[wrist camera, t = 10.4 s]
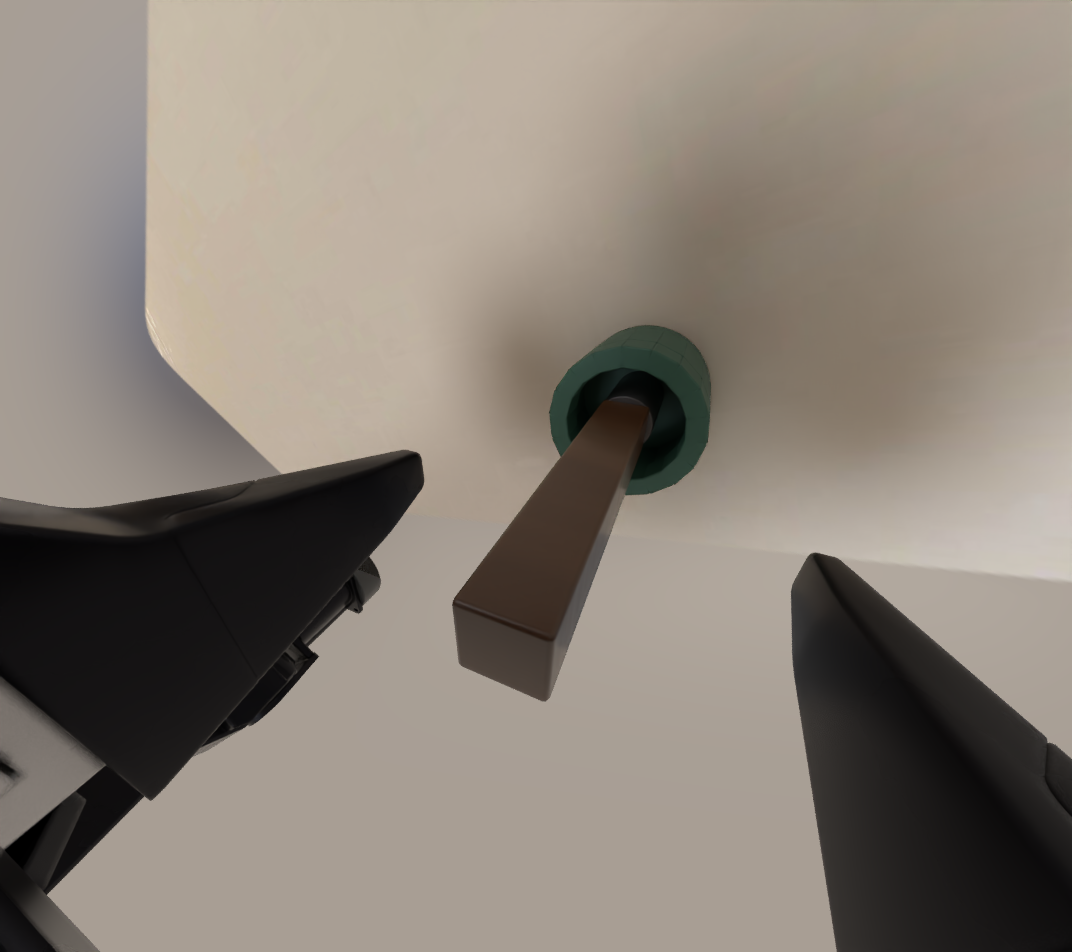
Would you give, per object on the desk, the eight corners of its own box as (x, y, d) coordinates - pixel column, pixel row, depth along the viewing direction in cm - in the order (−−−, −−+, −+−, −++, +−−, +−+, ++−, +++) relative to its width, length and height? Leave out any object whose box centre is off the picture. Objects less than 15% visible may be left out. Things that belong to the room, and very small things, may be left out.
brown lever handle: (658, 421, 16) (558, 718, 6) (612, 412, 17) (447, 669, 6) (668, 374, 15) (570, 636, 5) (619, 367, 16) (435, 586, 5)
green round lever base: (692, 457, 17) (686, 511, 14) (576, 434, 19) (544, 476, 15) (728, 333, 14) (733, 359, 11) (589, 318, 16) (553, 336, 12)
